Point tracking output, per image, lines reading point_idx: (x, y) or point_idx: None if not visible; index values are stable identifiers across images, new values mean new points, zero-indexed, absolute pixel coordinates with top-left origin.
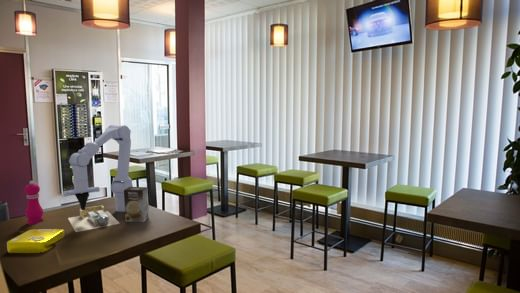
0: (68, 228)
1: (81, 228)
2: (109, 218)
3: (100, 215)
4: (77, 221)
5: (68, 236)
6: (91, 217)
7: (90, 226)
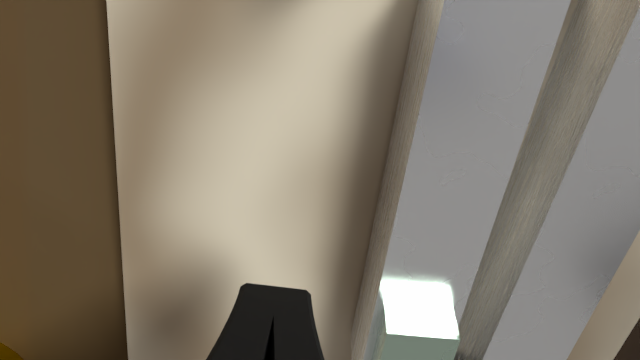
0: (79, 104)
1: (203, 325)
2: None
3: (505, 308)
4: (221, 5)
5: (67, 346)
6: (378, 274)
7: None
